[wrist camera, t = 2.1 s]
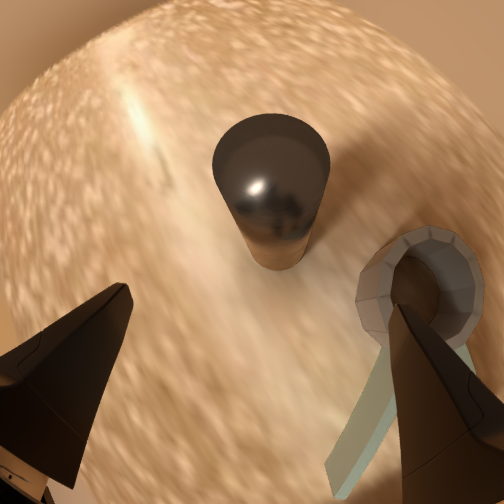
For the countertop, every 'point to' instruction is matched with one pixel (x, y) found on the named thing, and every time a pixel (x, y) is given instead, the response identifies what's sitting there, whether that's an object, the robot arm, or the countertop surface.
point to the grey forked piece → (376, 324)
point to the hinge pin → (272, 184)
